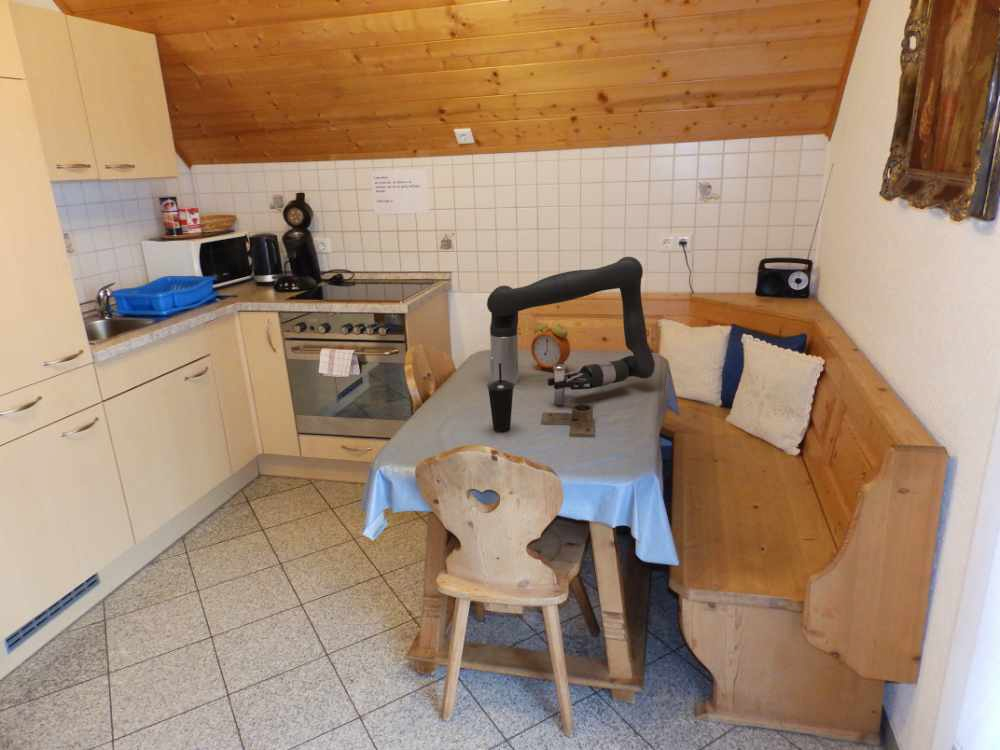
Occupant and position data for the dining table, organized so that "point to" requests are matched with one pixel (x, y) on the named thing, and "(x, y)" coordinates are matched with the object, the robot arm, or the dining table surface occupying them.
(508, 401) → the drinking cup
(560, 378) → the hinge pin
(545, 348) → the alarm clock
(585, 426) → the hinge base
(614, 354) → the dining table surface
